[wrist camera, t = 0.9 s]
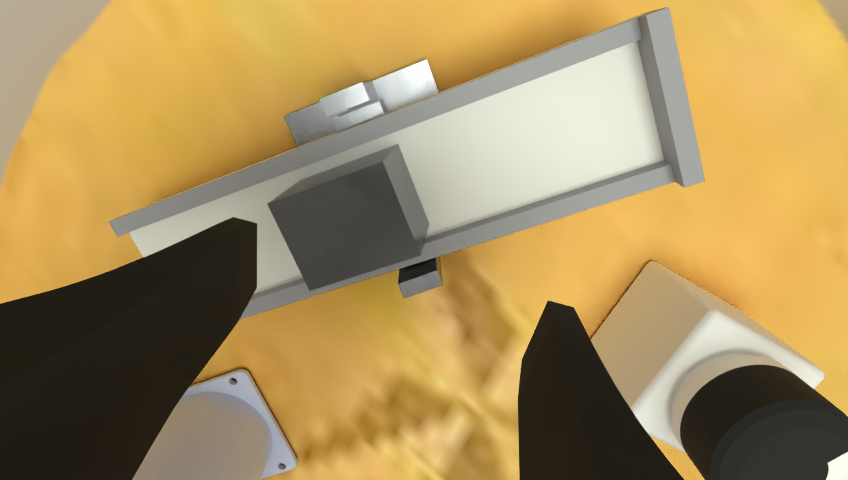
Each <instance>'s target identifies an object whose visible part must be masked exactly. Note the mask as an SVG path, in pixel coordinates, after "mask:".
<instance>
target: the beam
mask: <svg viewBox="0 0 848 480" xmlns="http://www.w3.org/2000/svg"><path fill="white" fill-rule="evenodd" d="M396 144H398V145H399V147H400V150H401V152H402V155H403V158H404V160H405V163H406V165H407V168H408V170H409V173H410V176H411V178H412V181H413V183H414V186H415V188H416V191H417V194H418V196H419V199H420V201H421V204H422V206H423V209H424V211H425V214H426V217H427V219H428V222H429V227H428V231H427V235H426V238H425V242H424V246H423V249H422V253H421V256H418V257H415V258H412V259H408V260H405V261H402V262H399V263H396V264H393V265H390V266H387V267H383V268H380V269H377V270H374V271H371V272H368V273H365V274H361V275H358V276H355V277H352V278H349V279H346V280H343V281H339V282H336V283H333V284H330V285H327V286H324V287H321V288H317V289H314V290H311V291H309V289H308V287H307V285H306V283H305V281H304V279H303V277H302V275H301V273H300V270H299V268H298V266H297V264H296V262H295V260H294V258H293V256H292V254H291V252H290V250H289V248H288V246H287V244H286V242H285V240H284V238H283V236H282V234H281V231H280V229H279V227H278V225H277V223H276V221H275V219H274V217H273V215H272V213H271V211H270V209H269V207H268V205H267V204H268V203H269V202H270V201H272V200H273V199H274V198H276V197H277V196H279V195H280V194H281V193H283V192H284V191H286V190H287V189H288V188H290V187H291V186H293V185H294V184H295V183H297V182H298V181H300V180H302V179H305V178H307V177H310V176H313V175H316V174H318V173H321V172H324V171H326V170H329V169H332V168H334V167H337V166H340V165H342V164H345V163H348V162H351V161H353V160H356V159H359V158H361V157H364V156H367V155H369V154H372V153H375V152H377V151H380V150H383V149H386V148H388V147H391V146H394V145H396ZM704 181H705V178H704V173H703V169H702V164H701V159H700V154H699V149H698V144H697V140H696V135H695V130H694V125H693V120H692V116H691V111H690V106H689V101H688V96H687V92H686V87H685V82H684V77H683V72H682V67H681V63H680V58H679V53H678V48H677V43H676V39H675V34H674V29H673V24H672V19H671V15H670V10H669V7H666V8H662V9H658V10H654V11H650V12H646V13H643V14H640V15H638V16H635V17H633V18H630V19H627V20H625V21H622V22H620V23H617V24H615V25H612V26H609V27H607V28H604V29H602V30H599V31H596V32H594V33H591V34H589V35H586V36H584V37H581V38H578V39H576V40H573V41H571V42H568V43H565V44H563V45H560V46H558V47H555V48H553V49H550V50H547V51H545V52H542V53H540V54H537V55H534V56H532V57H529V58H527V59H524V60H521V61H519V62H516V63H514V64H511V65H509V66H506V67H503V68H501V69H498V70H496V71H493V72H490V73H488V74H485V75H483V76H480V77H478V78H475V79H472V80H470V81H467V82H465V83H462V84H459V85H457V86H454V87H452V88H449V89H447V90H444V91H441V92H439V93H436V94H434V95H431V96H428V97H426V98H423V99H421V100H418V101H416V102H413V103H410V104H408V105H405V106H403V107H400V108H397V109H395V110H392V111H390V112H387V113H385V114H382V115H379V116H377V117H374V118H372V119H369V120H366V121H364V122H361V123H359V124H356V125H354V126H351V127H348V128H346V129H343V130H341V131H338V132H335V133H333V134H330V135H328V136H325V137H323V138H320V139H317V140H315V141H312V142H310V143H307V144H304V145H302V146H299V147H297V148H294V149H292V150H289V151H286V152H284V153H281V154H279V155H276V156H273V157H271V158H268V159H266V160H263V161H261V162H258V163H255V164H253V165H250V166H248V167H245V168H242V169H240V170H237V171H235V172H232V173H230V174H227V175H224V176H222V177H219V178H217V179H214V180H211V181H209V182H206V183H204V184H201V185H199V186H196V187H193V188H191V189H188V190H186V191H183V192H180V193H178V194H175V195H173V196H170V197H167V198H165V199H162V200H160V201H157V202H155V203H152V204H149V205H147V206H144V207H142V208H139V209H136V210H134V211H131V212H129V213H127V214H125V215H123V216H120V217H118V218H116V219H114V220H112V221H110V222H109V223H110V225H111V227H112V228H113V230H114V232H115V234H116V235H117V237H118V236H120V235H123V234H126V233H128V232H129V234H130V236H131V238H132V239H133V241H134V243H135V244H136V246H137V248H138V250H139V251H140V253H141V255H142V256H143V257H146V256H148V255H151V254H153V253H156V252H158V251H160V250H162V249H164V248H167V247H169V246H171V245H173V244H175V243H177V242H180V241H182V240H184V239H186V238H188V237H191V236H193V235H195V234H197V233H199V232H201V231H203V230H205V229H207V228H210V227H212V226H214V225H216V224H218V223H220V222H223V221H225V220H227V219H230V218H232V217H236V218H239V219H243V220H247V221H251V222H254V223H257V288H256V290H255V292H254V294H253V296H252V298H251V299H250V301H249V303H248V305H247V307H246V309H245V310H244V312H243V314H242V316H241V317H240V319H242V318H245V317H249V316H252V315H255V314H258V313H261V312H264V311H268V310H271V309H274V308H277V307H280V306H283V305H287V304H290V303H293V302H296V301H299V300H302V299H306V298H309V297H312V296H315V295H318V294H321V293H325V292H328V291H331V290H334V289H337V288H340V287H344V286H347V285H350V284H353V283H356V282H359V281H363V280H366V279H369V278H372V277H375V276H378V275H382V274H385V273H388V272H391V271H394V270H397V269H401V268H404V267H407V266H410V265H413V264H416V263H420V262H423V261H426V260H429V259H432V258H435V257H439V256H442V255H445V254H448V253H451V252H454V251H458V250H461V249H464V248H467V247H470V246H473V245H477V244H480V243H483V242H486V241H489V240H492V239H495V238H499V237H502V236H505V235H508V234H511V233H514V232H518V231H521V230H524V229H527V228H530V227H533V226H537V225H540V224H543V223H546V222H549V221H552V220H556V219H559V218H562V217H565V216H568V215H571V214H575V213H578V212H581V211H584V210H587V209H590V208H594V207H597V206H600V205H603V204H606V203H609V202H613V201H616V200H619V199H622V198H625V197H628V196H632V195H635V194H638V193H641V192H644V191H647V190H651V189H654V188H657V187H660V186H663V185H666V184H670V183H673V182H676V183H678V184H680V185H681V186H683V187H684V188H685V187H688V186H691V185H694V184H697V183H701V182H704Z"/></svg>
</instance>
